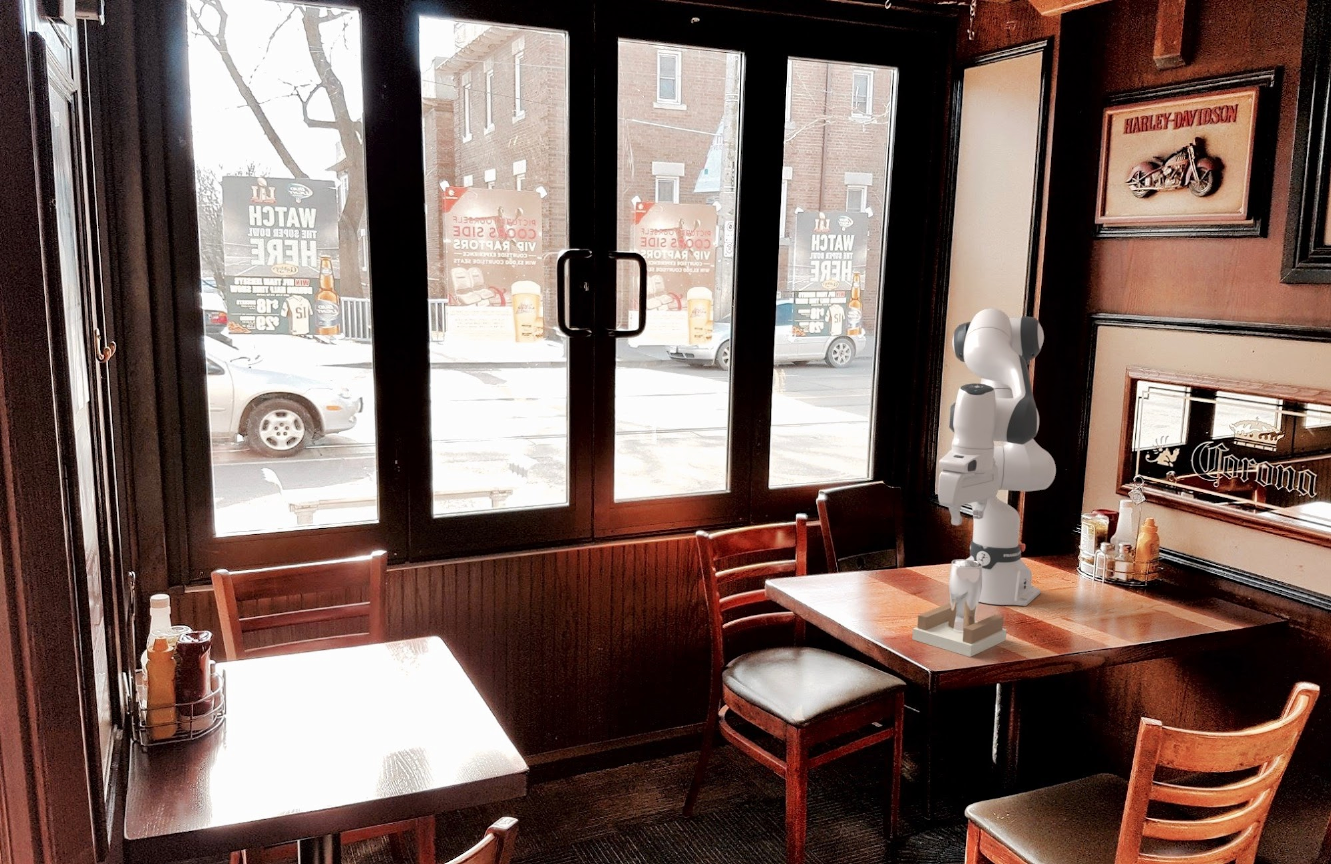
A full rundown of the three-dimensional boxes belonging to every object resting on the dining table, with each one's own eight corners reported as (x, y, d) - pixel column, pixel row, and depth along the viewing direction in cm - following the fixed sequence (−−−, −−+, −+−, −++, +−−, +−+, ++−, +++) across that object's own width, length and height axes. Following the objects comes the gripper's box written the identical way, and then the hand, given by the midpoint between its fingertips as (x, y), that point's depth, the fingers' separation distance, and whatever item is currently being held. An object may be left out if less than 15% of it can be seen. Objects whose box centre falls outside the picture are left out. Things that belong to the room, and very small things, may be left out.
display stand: (949, 624, 230) (950, 601, 229) (1005, 640, 220) (1007, 616, 219) (912, 639, 219) (913, 615, 218) (970, 657, 209) (972, 632, 208)
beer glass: (979, 635, 215) (984, 568, 213) (946, 632, 217) (951, 565, 215) (977, 625, 222) (982, 560, 220) (945, 622, 223) (950, 557, 221)
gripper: (981, 452, 223) (977, 512, 225) (934, 461, 209) (930, 525, 211) (1008, 456, 219) (1003, 517, 221) (961, 466, 205) (957, 531, 207)
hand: (967, 521), depth 216 cm, fingers open, 8 cm apart
